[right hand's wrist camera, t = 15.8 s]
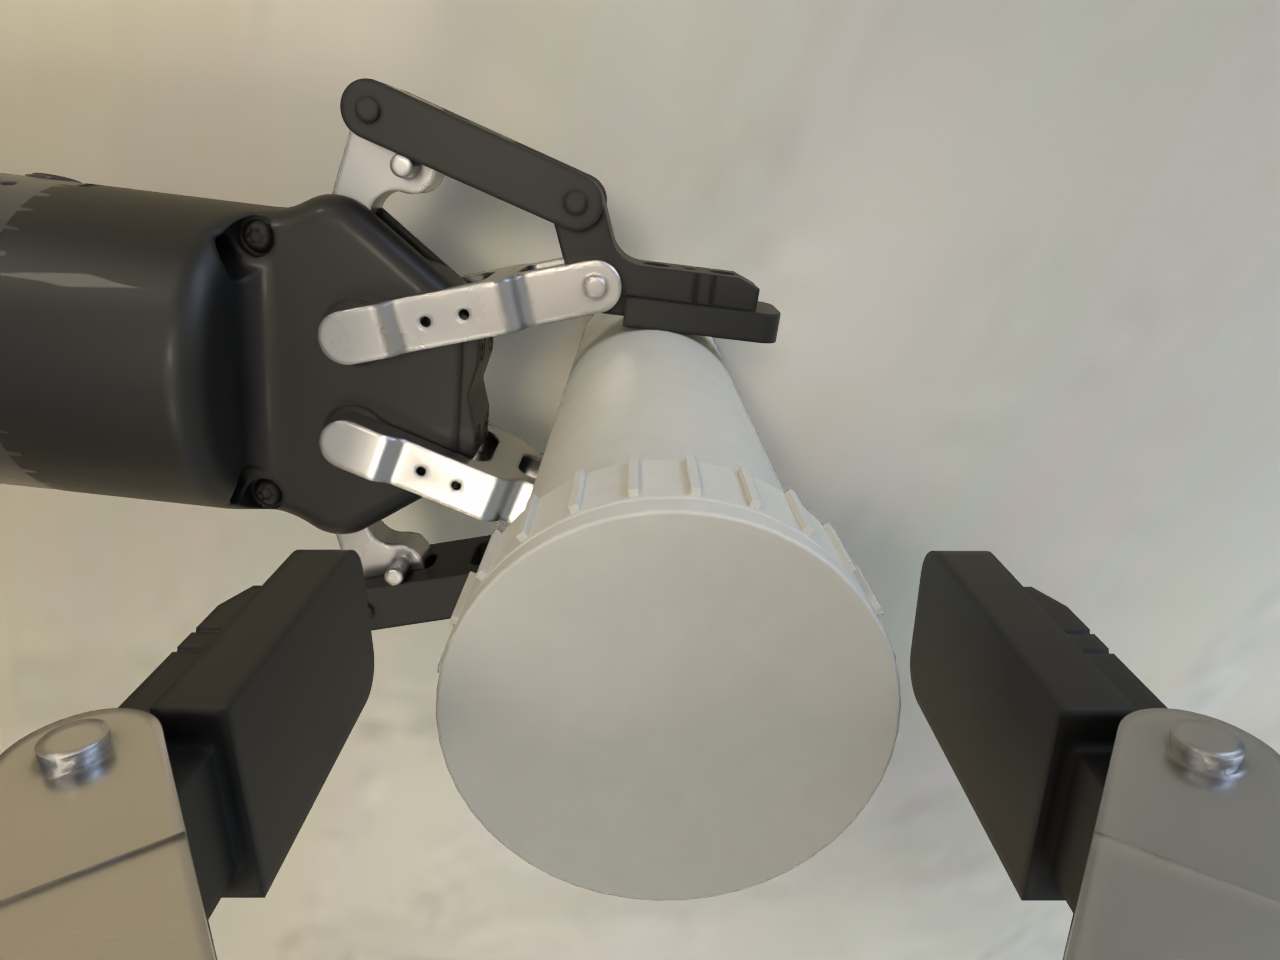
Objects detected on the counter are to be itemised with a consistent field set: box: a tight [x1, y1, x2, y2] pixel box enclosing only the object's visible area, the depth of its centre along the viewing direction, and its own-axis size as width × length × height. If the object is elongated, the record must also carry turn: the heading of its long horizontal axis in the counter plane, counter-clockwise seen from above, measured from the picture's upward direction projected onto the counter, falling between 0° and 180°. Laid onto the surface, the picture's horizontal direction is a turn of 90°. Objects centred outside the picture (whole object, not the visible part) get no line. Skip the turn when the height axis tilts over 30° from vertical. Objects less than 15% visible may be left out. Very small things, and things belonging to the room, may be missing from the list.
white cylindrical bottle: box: [530, 313, 784, 499], centre depth 18 cm, size 4×4×19 cm
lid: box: [436, 454, 901, 901], centre depth 10 cm, size 5×5×2 cm
